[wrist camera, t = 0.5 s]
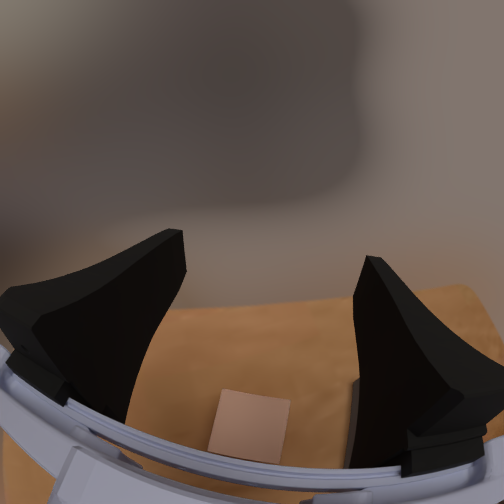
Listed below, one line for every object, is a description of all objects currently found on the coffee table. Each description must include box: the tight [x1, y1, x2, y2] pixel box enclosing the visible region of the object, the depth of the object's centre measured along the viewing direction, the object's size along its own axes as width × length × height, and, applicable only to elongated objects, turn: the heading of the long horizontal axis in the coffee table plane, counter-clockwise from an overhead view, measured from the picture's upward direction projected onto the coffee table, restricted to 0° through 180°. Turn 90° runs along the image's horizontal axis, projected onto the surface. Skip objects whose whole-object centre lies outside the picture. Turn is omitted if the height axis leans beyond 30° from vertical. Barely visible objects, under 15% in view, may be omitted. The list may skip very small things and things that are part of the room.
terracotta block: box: [207, 388, 291, 464], centre depth 19 cm, size 5×5×6 cm
